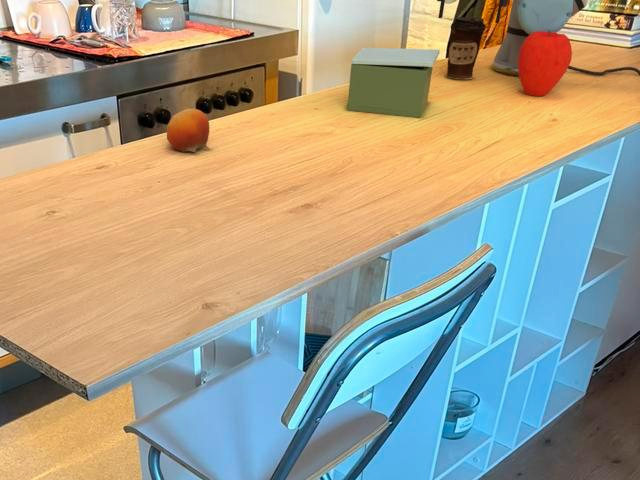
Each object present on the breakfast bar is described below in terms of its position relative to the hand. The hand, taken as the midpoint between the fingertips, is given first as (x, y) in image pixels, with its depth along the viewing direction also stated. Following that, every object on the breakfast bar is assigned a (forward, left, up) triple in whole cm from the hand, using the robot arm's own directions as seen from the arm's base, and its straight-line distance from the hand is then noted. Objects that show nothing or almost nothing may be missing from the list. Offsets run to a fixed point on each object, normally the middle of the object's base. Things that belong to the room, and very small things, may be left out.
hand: (468, 20), depth 197 cm
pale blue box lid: (+12, +35, -3) cm, 37 cm away
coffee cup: (0, 0, -13) cm, 13 cm away
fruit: (+44, +81, -13) cm, 93 cm away
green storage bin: (+13, +35, -13) cm, 39 cm away
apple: (-19, +10, -13) cm, 25 cm away
